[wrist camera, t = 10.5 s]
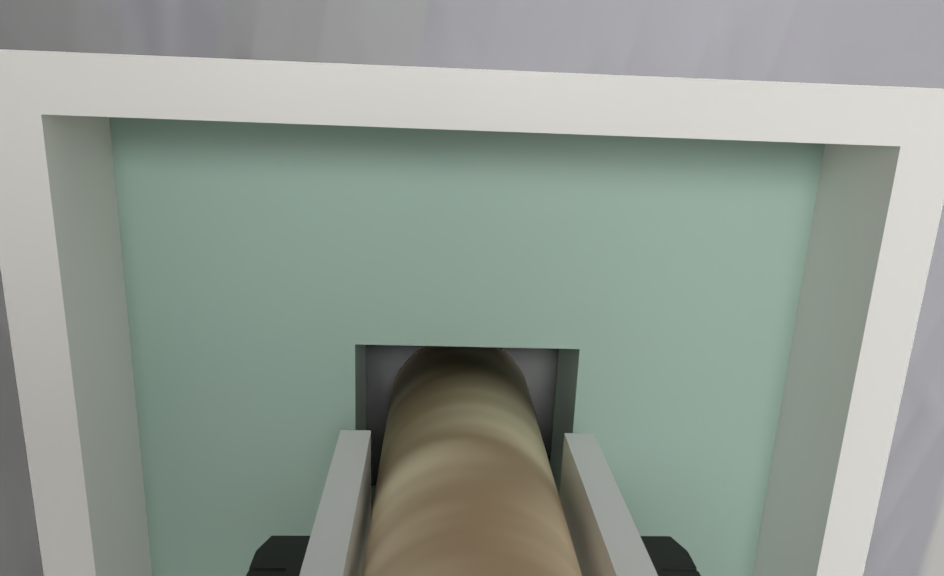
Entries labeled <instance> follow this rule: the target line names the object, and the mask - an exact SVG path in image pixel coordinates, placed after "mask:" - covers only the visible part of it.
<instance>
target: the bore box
mask: <svg viewBox="0 0 944 576" xmlns="http://www.w3.org/2000/svg"><path fill="white" fill-rule="evenodd" d="M943 203H944V89H938V88H914V87H890V86H866V85H842V84H818V83H794V82H771V81H747V80H723V79H699V78H675V77H651V76H627V75H603V74H579V73H556V72H532V71H508V70H484V69H460V68H436V67H412V66H388V65H365V64H341V63H317V62H293V61H269V60H245V59H221V58H197V57H173V56H150V55H126V54H102V53H78V52H54V51H30V50H6V49H0V269H1V276H2V283H3V290H4V297H5V304H6V311H7V318H8V325H9V332H10V340H11V347H12V354H13V361H14V368H15V375H16V382H17V389H18V396H19V403H20V410H21V417H22V424H23V431H24V438H25V445H26V452H27V459H28V467H29V474H30V481H31V488H32V495H33V502H34V509H35V516H36V523H37V530H38V537H39V544H40V551H41V558H42V565H43V572H44V576H246V575H247V572H249V567H250V565H251V562H252V559H253V557H254V554H255V552H256V550H257V549H258V548H259V547H260V546H261V545H262V544H264V543H265V542H266V541H267V540H268V539H269V538H270V537H271V536H272V535H274V536H311V532H312V529H313V525H314V522H315V518H316V515H317V511H318V508H319V504H320V501H321V497H322V494H323V490H324V487H325V483H326V479H327V476H328V472H329V469H330V465H331V462H332V458H333V455H334V451H335V448H336V444H337V441H338V437H339V434H340V430H366V345H406V346H454V347H503V348H551V349H559V352H558V365H557V378H556V391H555V404H554V418H553V431H552V444H551V457H550V467H551V470H552V474H553V477H554V481H555V484H556V488H557V491H558V494H559V495H560V483H561V471H562V458H563V446H564V434H565V433H585V434H594V435H595V437H596V439H597V441H598V444H599V446H600V448H601V450H602V452H603V455H604V457H605V459H606V461H607V464H608V466H609V468H610V470H611V472H612V475H613V477H614V479H615V481H616V484H617V486H618V488H619V490H620V492H621V495H622V497H623V499H624V501H625V503H626V506H627V508H628V510H629V512H630V515H631V517H632V519H633V521H634V523H635V526H636V528H637V530H638V532H639V534H640V536H671V537H672V538H673V539H674V540H675V541H676V542H678V543H679V544H680V545H681V546H682V547H683V548H685V549H686V550H687V551H688V553H689V555H690V557H691V558H692V560H693V562H694V564H695V566H696V568H697V571H699V573H700V575H701V576H863V573H864V568H865V563H866V559H867V554H868V549H869V545H870V540H871V536H872V531H873V526H874V522H875V517H876V512H877V508H878V503H879V499H880V494H881V489H882V485H883V480H884V475H885V471H886V466H887V462H888V457H889V452H890V448H891V443H892V438H893V434H894V429H895V425H896V420H897V415H898V411H899V406H900V401H901V397H902V392H903V388H904V383H905V378H906V374H907V369H908V364H909V360H910V355H911V351H912V346H913V341H914V337H915V332H916V327H917V323H918V318H919V314H920V309H921V304H922V300H923V295H924V290H925V286H926V281H927V277H928V272H929V267H930V263H931V258H932V253H933V249H934V244H935V240H936V235H937V230H938V226H939V221H940V216H941V212H942V207H943ZM375 490H376V486H371V514H372V508H373V502H374V496H375Z"/></svg>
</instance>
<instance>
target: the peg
mask: <svg viewBox="0 0 944 576" xmlns="http://www.w3.org/2000/svg"><path fill="white" fill-rule="evenodd" d="M362 576H582V574H581V570H580V567H579V563H578V560H577V556H576V553H575V550H574V546H573V543H572V539H571V536H570V532H569V529H568V525H567V522H566V519H565V515H564V512H563V508H562V505H561V501H560V498H559V494H558V491H557V488H556V484H555V481H554V477H553V474H552V470H551V467H550V463H549V460H548V457H547V453H546V450H545V446H544V443H543V439H542V436H541V432H540V429H539V426H538V422H537V419H536V415H535V412H534V408H533V405H532V401H531V398H530V395H529V391H528V388H527V384H526V381H525V378H524V376H523V374H522V372H521V370H520V368H519V367H518V365H517V364H516V363H515V361H514V360H513V359H512V358H511V357H510V356H509V355H508V354H507V353H506V352H504V351H503V350H501V349H500V348H498V347H454V346H424V347H423V348H421V349H419V350H418V351H417V352H416V353H414V354H413V355H412V356H411V357H410V358H409V359H408V360H407V361H406V362H405V363H404V365H403V366H402V367H401V369H400V370H399V372H398V374H397V376H396V378H395V381H394V384H393V387H392V392H391V397H390V404H389V410H388V416H387V422H386V428H385V434H384V440H383V447H382V453H381V459H380V465H379V471H378V477H377V483H376V490H375V496H374V502H373V508H372V514H371V520H370V526H369V533H368V539H367V545H366V551H365V557H364V563H363V569H362Z"/></svg>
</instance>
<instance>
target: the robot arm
mask: <svg viewBox="0 0 944 576" xmlns="http://www.w3.org/2000/svg"><path fill="white" fill-rule="evenodd" d="M559 498H560V501H561V505H562V508H563V512H564V515H565V519H566V522H567V525H568V529H569V532H570V536H571V539H572V543H573V546H574V550H575V553H576V556H577V560H578V563H579V567H580V570H581V574H582V576H701V575H700V573H699V571H697V568H696V566H695V564H694V562H693V560H692V558H691V557H690V555H689V553H688V551H687V550H686V549H685V548H683V547H682V546H681V545H680V544H679V543H678V542H676V541H675V540H674V539H673V538H672V537H671V536H640V534H639V532H638V530H637V528H636V526H635V523H634V521H633V519H632V517H631V515H630V512H629V510H628V508H627V506H626V503H625V501H624V499H623V497H622V495H621V492H620V490H619V488H618V486H617V484H616V481H615V479H614V477H613V475H612V472H611V470H610V468H609V466H608V464H607V461H606V459H605V457H604V455H603V452H602V450H601V448H600V446H599V444H598V441H597V439H596V437H595V435H594V434H585V433H565V434H564V446H563V458H562V471H561V483H560V495H559ZM370 520H371V430H340V434H339V437H338V441H337V444H336V448H335V451H334V455H333V458H332V462H331V465H330V469H329V472H328V476H327V479H326V483H325V487H324V490H323V494H322V497H321V501H320V504H319V508H318V511H317V515H316V518H315V522H314V525H313V529H312V532H311V536H274V535H272V536H271V537H270V538H269V539H268V540H267V541H266V542H265V543H264V544H262V545H261V546H260V547H259V548H258V549H257V550H256V552H255V554H254V557H253V559H252V562H251V565H250V567H249V572H247V575H246V576H362V569H363V563H364V557H365V551H366V545H367V539H368V533H369V526H370Z"/></svg>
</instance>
